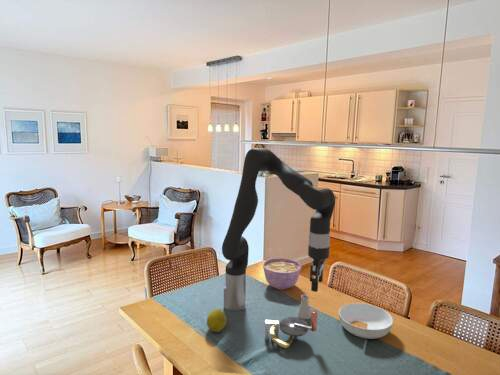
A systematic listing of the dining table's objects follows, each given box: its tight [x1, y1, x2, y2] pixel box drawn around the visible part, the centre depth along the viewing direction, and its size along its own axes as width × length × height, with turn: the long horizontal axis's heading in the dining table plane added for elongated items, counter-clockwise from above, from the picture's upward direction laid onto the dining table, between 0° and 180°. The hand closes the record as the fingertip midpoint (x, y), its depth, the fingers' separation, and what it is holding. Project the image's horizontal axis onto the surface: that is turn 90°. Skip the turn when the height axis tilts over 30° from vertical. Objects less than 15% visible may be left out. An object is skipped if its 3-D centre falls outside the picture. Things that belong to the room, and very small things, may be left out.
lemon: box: [206, 308, 227, 333], centre depth 139 cm, size 11×8×8 cm
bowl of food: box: [262, 257, 302, 290], centre depth 178 cm, size 20×20×12 cm
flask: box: [296, 294, 312, 320], centre depth 148 cm, size 7×7×10 cm
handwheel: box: [269, 310, 318, 349], centre depth 129 cm, size 18×15×13 cm
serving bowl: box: [338, 302, 394, 340], centre depth 139 cm, size 21×21×7 cm
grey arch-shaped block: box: [264, 319, 280, 341], centre depth 131 cm, size 5×2×7 cm, turn 86°
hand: (316, 286), depth 125 cm, fingers open, 8 cm apart
